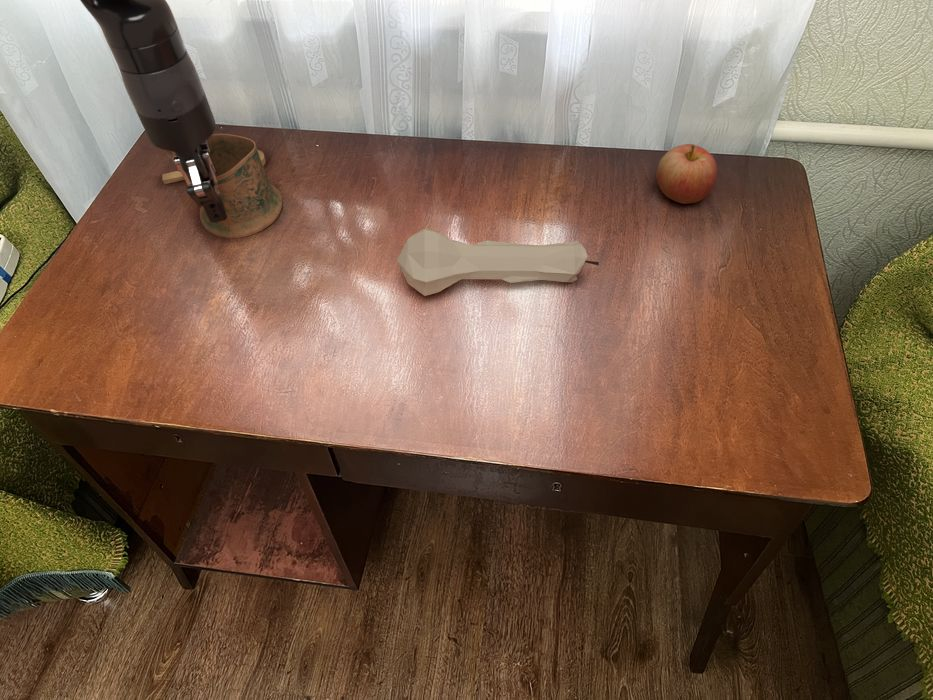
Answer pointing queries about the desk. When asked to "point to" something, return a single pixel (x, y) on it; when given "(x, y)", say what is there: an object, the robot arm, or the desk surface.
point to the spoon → (178, 176)
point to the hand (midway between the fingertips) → (218, 217)
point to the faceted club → (485, 261)
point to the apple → (687, 173)
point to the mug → (240, 188)
